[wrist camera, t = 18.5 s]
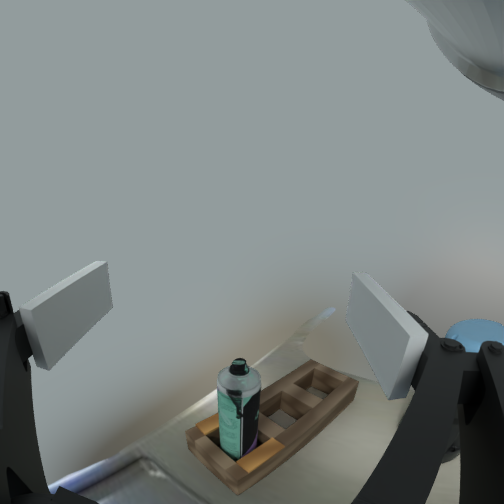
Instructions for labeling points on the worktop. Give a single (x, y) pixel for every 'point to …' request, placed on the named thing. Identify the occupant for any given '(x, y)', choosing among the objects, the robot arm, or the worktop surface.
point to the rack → (276, 425)
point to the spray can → (238, 408)
